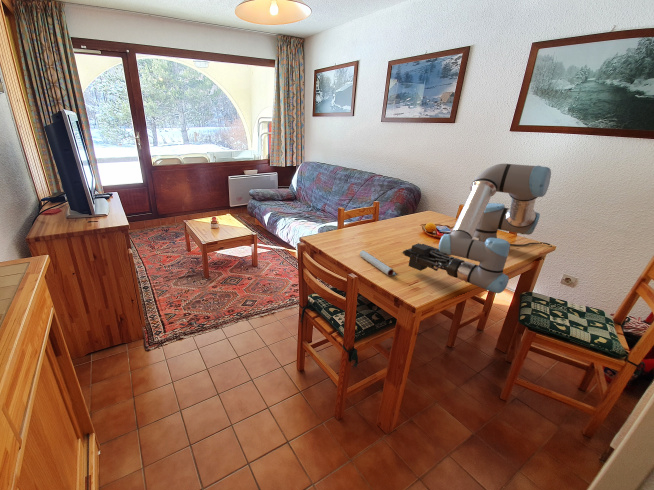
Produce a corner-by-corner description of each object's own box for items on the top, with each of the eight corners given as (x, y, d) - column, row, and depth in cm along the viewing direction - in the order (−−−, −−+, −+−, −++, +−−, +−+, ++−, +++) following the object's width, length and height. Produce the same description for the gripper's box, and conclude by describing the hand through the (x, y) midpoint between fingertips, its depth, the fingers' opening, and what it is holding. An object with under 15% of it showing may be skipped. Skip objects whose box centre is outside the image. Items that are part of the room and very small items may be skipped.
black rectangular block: (414, 263, 142) (418, 243, 138) (426, 268, 138) (431, 247, 134) (408, 266, 140) (411, 245, 136) (420, 270, 135) (424, 250, 131)
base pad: (422, 245, 171) (423, 241, 170) (447, 254, 160) (448, 249, 159) (402, 253, 161) (403, 248, 160) (427, 262, 151) (428, 257, 150)
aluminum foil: (359, 256, 157) (359, 250, 155) (370, 255, 159) (371, 249, 157) (387, 276, 137) (388, 269, 136) (399, 274, 139) (400, 267, 138)
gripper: (447, 284, 120) (395, 263, 137) (470, 272, 129) (419, 253, 147) (451, 267, 117) (398, 247, 134) (474, 255, 126) (422, 239, 144)
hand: (409, 250), depth 140 cm, fingers closed on black rectangular block, 5 cm apart
